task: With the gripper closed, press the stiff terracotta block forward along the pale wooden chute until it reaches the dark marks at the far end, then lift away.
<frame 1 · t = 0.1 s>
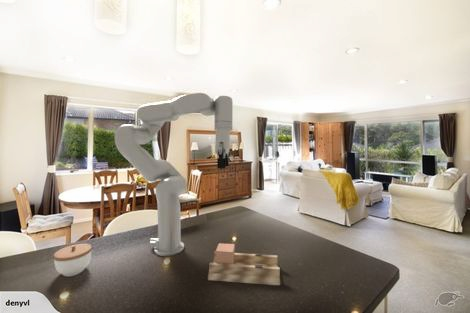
hand: (223, 167, 87), 37 cm above the kitchen island, tool pointing down, fingers open, 9 cm apart
jammed block: (225, 256, 75), point 5 cm above the kitchen island, slide at 0.0 cm
lidded jar: (74, 271, 75), on the kitchen island
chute: (244, 272, 75), on the kitchen island
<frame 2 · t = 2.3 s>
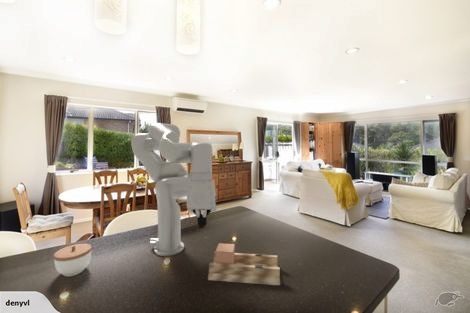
hand: (202, 227, 76), 16 cm above the kitchen island, tool pointing down, fingers closed
nothing on the kitchen island moved.
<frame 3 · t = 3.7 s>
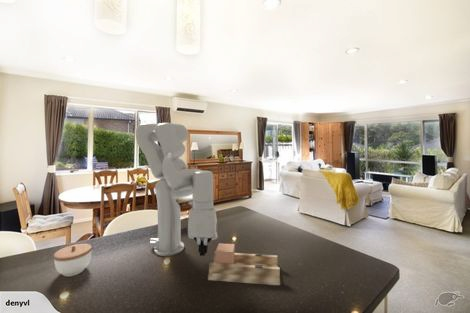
hand: (203, 254, 76), 6 cm above the kitchen island, tool pointing down, fingers closed
nothing on the kitchen island moved.
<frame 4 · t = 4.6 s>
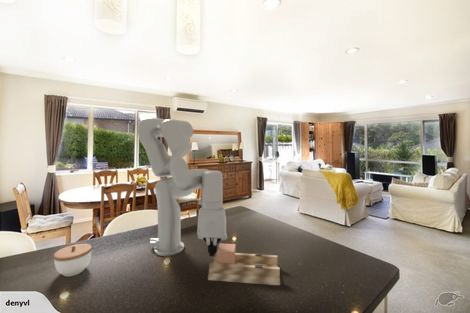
hand: (212, 254, 76), 6 cm above the kitchen island, tool pointing down, fingers closed
jammed block: (226, 256, 75), point 5 cm above the kitchen island, slide at 0.4 cm, touching gripper
everything else where it was.
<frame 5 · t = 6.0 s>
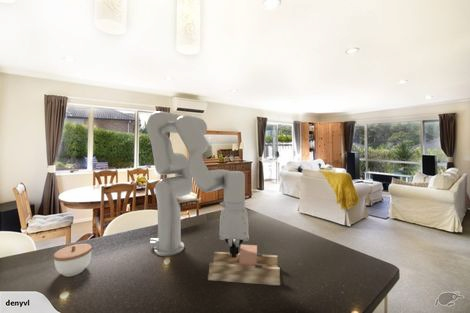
hand: (234, 255, 75), 6 cm above the kitchen island, tool pointing down, fingers closed
jammed block: (248, 258, 75), point 5 cm above the kitchen island, slide at 8.4 cm, touching gripper
everything else where it was.
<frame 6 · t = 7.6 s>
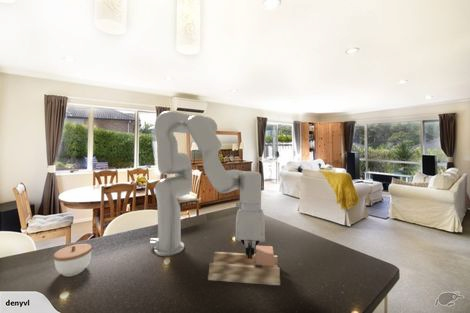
hand: (249, 256, 74), 6 cm above the kitchen island, tool pointing down, fingers closed
jammed block: (264, 259, 74), point 5 cm above the kitchen island, slide at 14.1 cm, touching gripper
everything else where it was.
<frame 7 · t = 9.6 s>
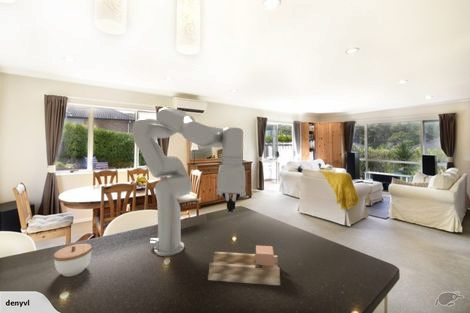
hand: (230, 210, 77), 21 cm above the kitchen island, tool pointing down, fingers closed
jammed block: (264, 259, 74), point 5 cm above the kitchen island, slide at 14.0 cm
everything else where it was.
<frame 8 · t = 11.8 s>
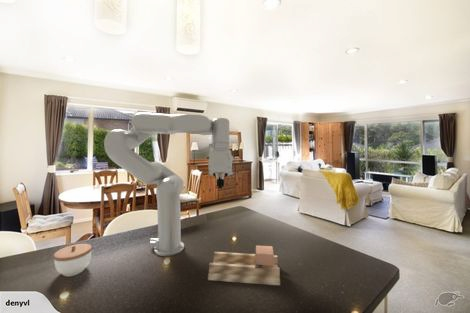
hand: (220, 187, 92), 27 cm above the kitchen island, tool pointing down, fingers closed
nothing on the kitchen island moved.
at the end: jammed block slide at 14.0 cm; jammed block inside the target area (2.8 cm from its centre), resting on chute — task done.
